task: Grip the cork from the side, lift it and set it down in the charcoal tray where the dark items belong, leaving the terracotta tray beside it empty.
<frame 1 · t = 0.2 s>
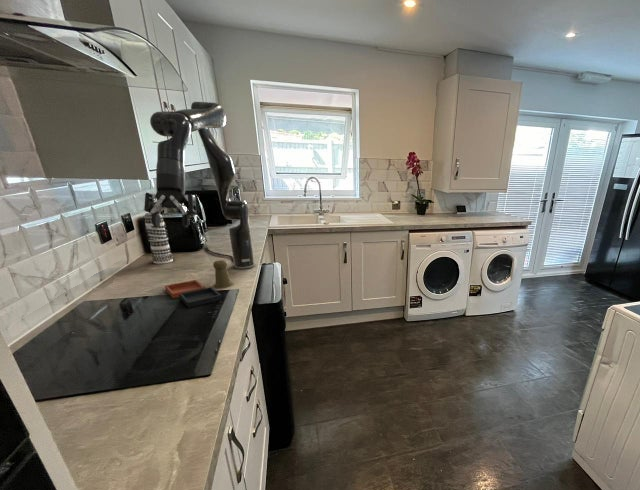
hand: (170, 226, 103), 31 cm above the worktop, tool tilted 20°, fingers open, 8 cm apart
charcoal tray: (201, 299, 127), on the worktop
cork: (223, 285, 141), on the worktop
terracotta tray: (185, 290, 134), on the worktop
white patterned cylinder: (163, 261, 169), on the worktop
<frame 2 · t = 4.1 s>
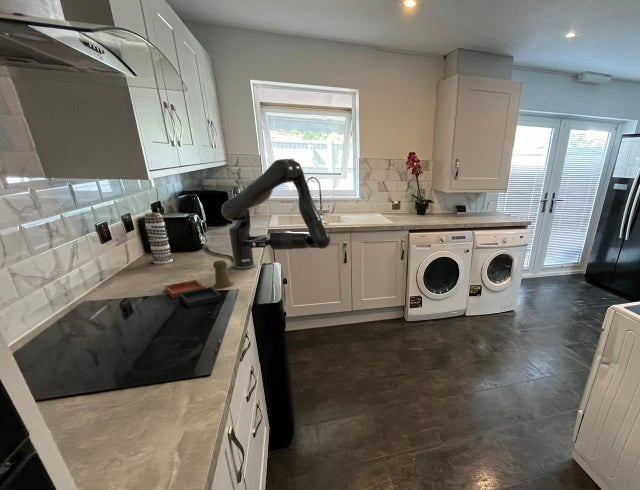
hand: (243, 241, 136), 20 cm above the worktop, tool horizontal, fingers open, 8 cm apart
nothing on the worktop moved.
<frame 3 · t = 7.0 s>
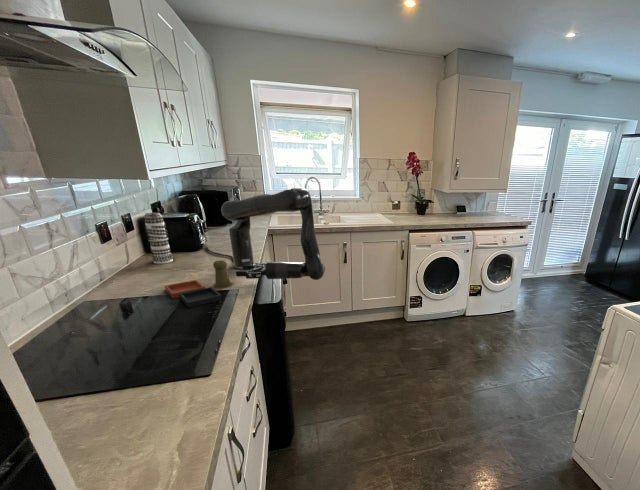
hand: (239, 270, 140), 7 cm above the worktop, tool horizontal, fingers open, 8 cm apart
nothing on the worktop moved.
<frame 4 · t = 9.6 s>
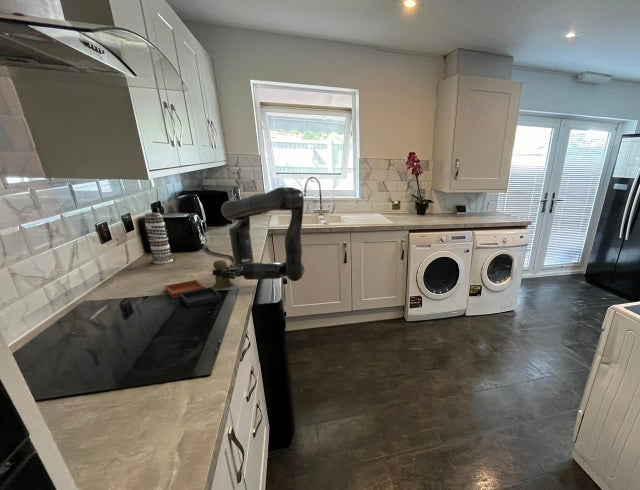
hand: (215, 271, 139), 7 cm above the worktop, tool horizontal, fingers closed on cork, 4 cm apart
cork: (223, 285, 141), on the worktop, touching gripper
everything else where it was.
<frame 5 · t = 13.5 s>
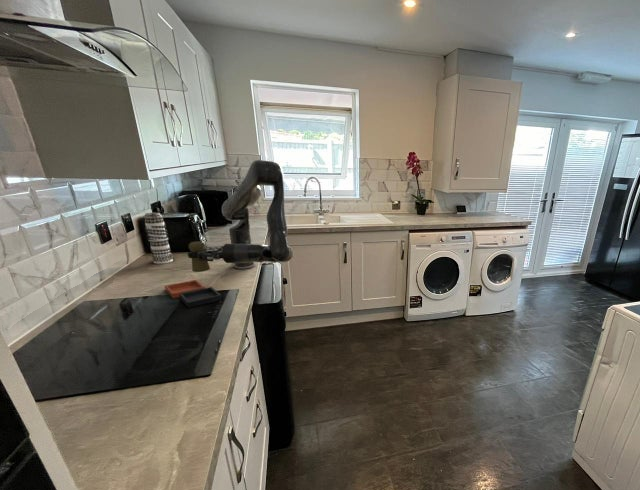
hand: (191, 253, 123), 18 cm above the worktop, tool horizontal, fingers closed on cork, 4 cm apart
cork: (201, 270, 126), point 11 cm above the worktop, touching gripper
everything else where it was.
when the fingers open (7 cm above the worktop, at t = 17.2 s): cork stays where it is, resting on charcoal tray.
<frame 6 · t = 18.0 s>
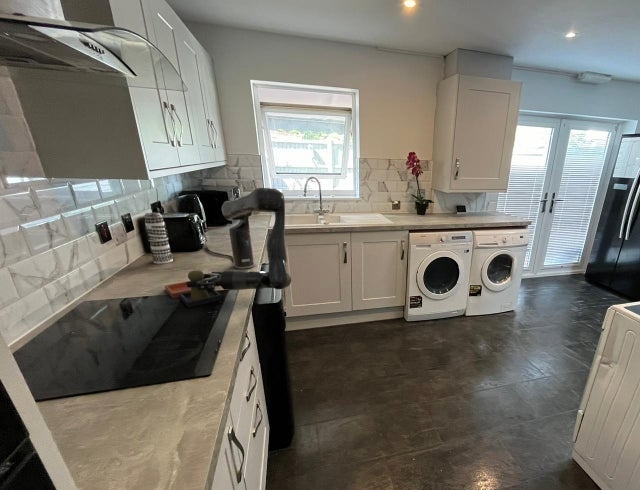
hand: (192, 280, 124), 8 cm above the worktop, tool horizontal, fingers open, 8 cm apart
cork: (200, 298, 127), resting on charcoal tray
everything else where it was.
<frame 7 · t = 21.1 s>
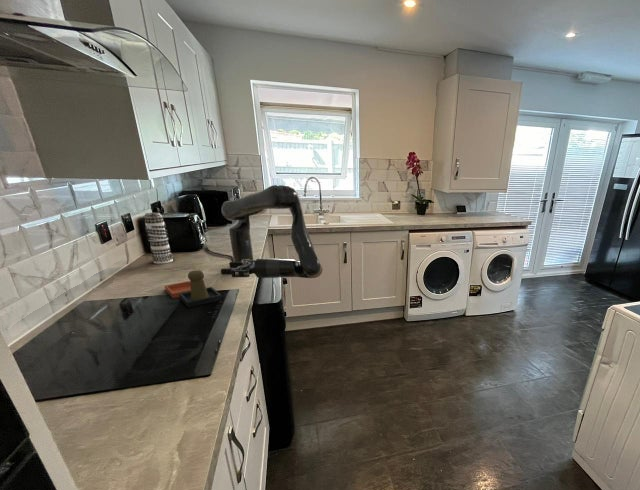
hand: (225, 268, 124), 13 cm above the worktop, tool horizontal, fingers open, 8 cm apart
nothing on the worktop moved.
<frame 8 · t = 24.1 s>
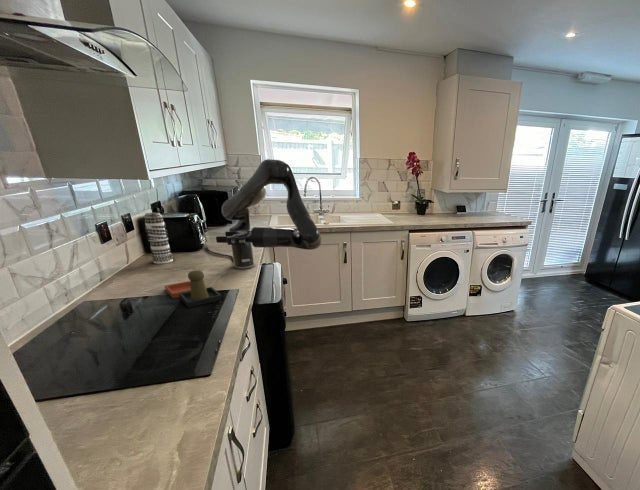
hand: (221, 236, 119), 25 cm above the worktop, tool horizontal, fingers open, 8 cm apart
nothing on the worktop moved.
at the end: cork inside the target area in the charcoal tray (0.2 cm from its centre), point 0.3 cm above the charcoal tray's base; cork tilted 0°; the gripper is holding nothing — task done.
